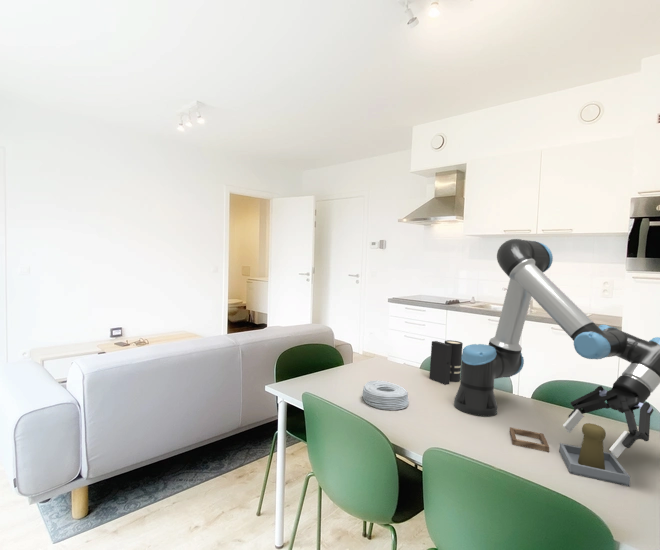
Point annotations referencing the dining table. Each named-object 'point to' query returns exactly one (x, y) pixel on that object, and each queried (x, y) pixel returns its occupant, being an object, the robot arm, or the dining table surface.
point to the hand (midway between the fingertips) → (587, 440)
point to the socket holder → (532, 445)
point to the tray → (610, 474)
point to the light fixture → (446, 361)
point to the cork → (592, 446)
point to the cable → (385, 395)
